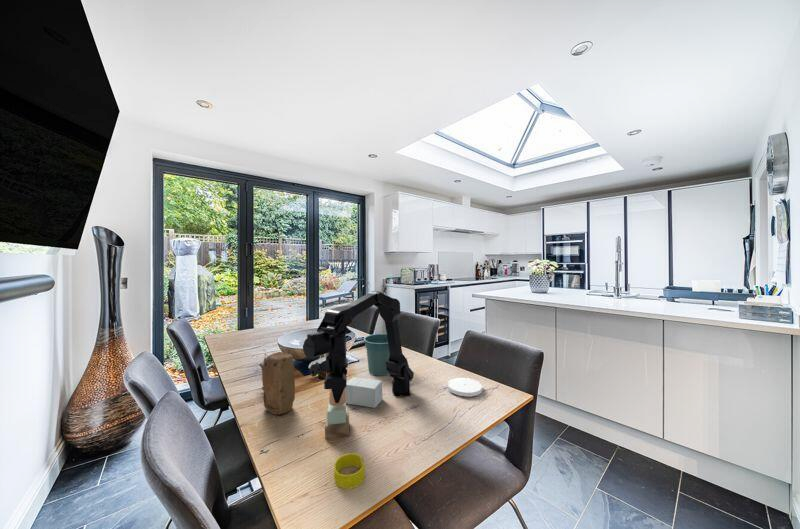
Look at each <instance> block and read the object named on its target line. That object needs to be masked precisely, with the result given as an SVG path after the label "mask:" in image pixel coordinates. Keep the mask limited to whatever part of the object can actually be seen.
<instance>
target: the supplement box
mask: <svg viewBox="0 0 800 529" xmlns="http://www.w3.org/2000/svg"><path fill="white" fill-rule="evenodd" d="M382 400H383V381H382V380H377V379H369V378H362V377H361V378H360V377H354V376H353V377H352V378H351V379H349V380H348V381H347V385H346V404H349V405H356V406H360V407H367V408H373V409H376V407H377V406H378V405H379V404H380V403H381V402H382Z"/></svg>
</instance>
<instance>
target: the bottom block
mask: <svg viewBox="0 0 800 529" xmlns="http://www.w3.org/2000/svg"><path fill="white" fill-rule="evenodd" d="M349 433H350V412H349V411H346V423H339V424H330V425H328V420H327V417H326V419H325V424H324V439H325V440H326V439H335V438H337V439H338V438H344V437H345V438H347V437H349Z"/></svg>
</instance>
